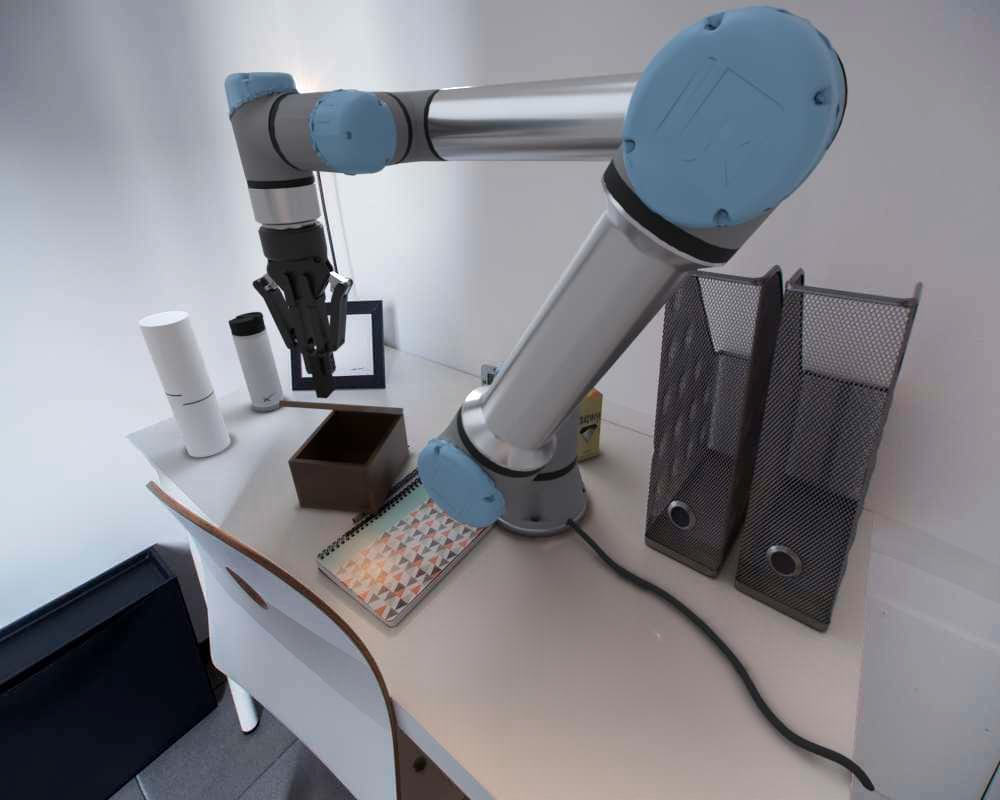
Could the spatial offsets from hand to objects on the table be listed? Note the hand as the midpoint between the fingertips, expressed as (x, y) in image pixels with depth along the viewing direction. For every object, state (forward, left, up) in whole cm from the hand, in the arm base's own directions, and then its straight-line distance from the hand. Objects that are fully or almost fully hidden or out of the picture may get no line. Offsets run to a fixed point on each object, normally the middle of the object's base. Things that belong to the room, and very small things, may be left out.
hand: (326, 393), depth 75 cm
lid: (+3, -4, -5) cm, 7 cm away
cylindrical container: (+30, +13, -19) cm, 38 cm away
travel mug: (+38, -1, -19) cm, 43 cm away
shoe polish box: (-17, -36, -19) cm, 44 cm away
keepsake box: (+2, -3, -19) cm, 19 cm away
